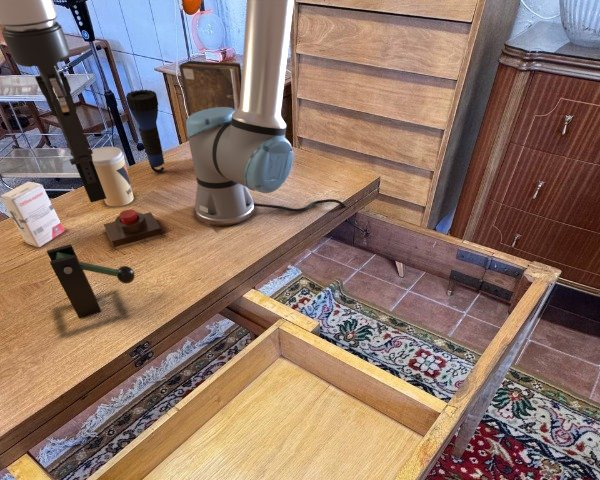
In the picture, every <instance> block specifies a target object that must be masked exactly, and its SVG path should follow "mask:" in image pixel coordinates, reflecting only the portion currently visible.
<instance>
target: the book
mask: <svg viewBox="0 0 600 480" xmlns="http://www.w3.org/2000/svg"><path fill="white" fill-rule="evenodd" d="M178 68H179V73H180V77H181V82H182V83H181V85H182V87H183V93H184V97H185V100H184V101H185V103H186V108H187V115H188V117H189V116H190V115H192V114H194V113H196V112H199V111H202V110H205V109H210V108H217V107H229V108H233V109H234V110H235V111H236V110H237V109H238V108H239V106H240V93H241V79H242V64H241V63H240V62H220V61H219V62H218V61H211V62H210V61H199V60H187V61H186V62H183V63H180V64H179V65H178Z"/></svg>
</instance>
